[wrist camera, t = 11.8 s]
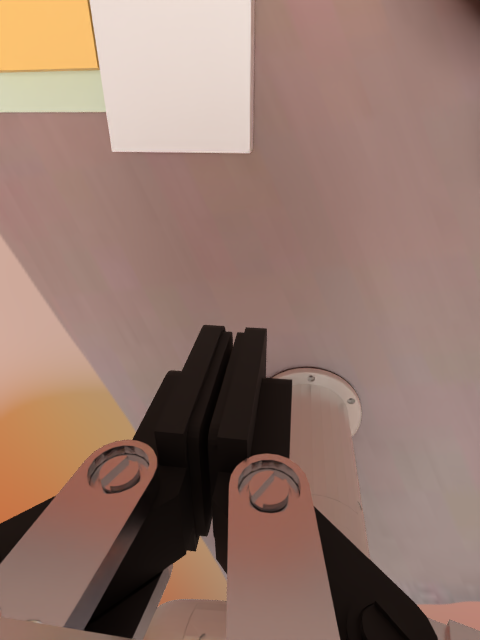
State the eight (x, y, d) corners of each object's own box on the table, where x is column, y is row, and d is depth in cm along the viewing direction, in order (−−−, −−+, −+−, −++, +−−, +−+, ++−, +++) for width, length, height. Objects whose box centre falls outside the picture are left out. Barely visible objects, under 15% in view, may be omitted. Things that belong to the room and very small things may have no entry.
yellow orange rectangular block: (108, 69, 33) (97, 67, 31) (-1, 72, 34) (-17, 71, 32) (92, -41, 29) (79, -50, 28) (-28, -33, 31) (-48, -41, 29)
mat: (115, 111, 34) (113, 112, 34) (-28, 112, 36) (-31, 112, 36) (84, -111, 28) (82, -113, 28) (-91, -98, 29) (-94, -100, 29)
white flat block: (253, 150, 34) (249, 153, 32) (123, 148, 36) (112, 151, 34) (257, -191, 25) (252, -220, 23) (79, -174, 26) (59, -199, 24)
